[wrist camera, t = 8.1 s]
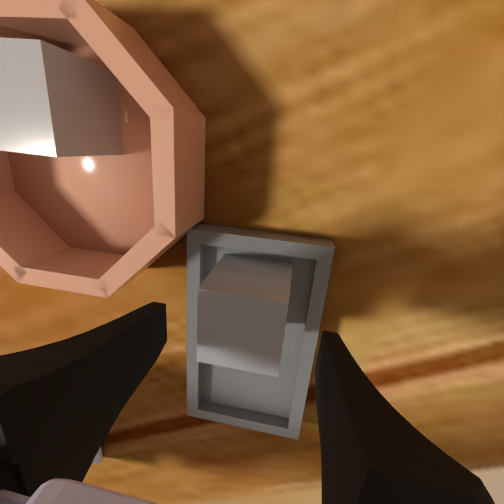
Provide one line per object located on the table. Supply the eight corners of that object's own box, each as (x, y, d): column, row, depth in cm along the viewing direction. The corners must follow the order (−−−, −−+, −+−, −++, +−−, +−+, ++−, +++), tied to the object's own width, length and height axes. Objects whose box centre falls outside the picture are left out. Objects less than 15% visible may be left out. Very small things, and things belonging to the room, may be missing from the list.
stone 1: (122, 154, 16) (56, 156, 12) (57, 147, 16) (-28, 147, 12) (116, 71, 14) (40, 39, 10) (46, 66, 15) (-55, 34, 11)
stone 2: (284, 323, 18) (278, 377, 13) (221, 312, 18) (196, 361, 14) (292, 263, 16) (288, 302, 12) (224, 253, 17) (197, 288, 13)
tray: (298, 421, 21) (298, 439, 20) (193, 399, 22) (186, 415, 21) (332, 239, 16) (335, 247, 15) (195, 222, 17) (186, 228, 16)
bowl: (202, 276, 18) (176, 309, 14) (23, 249, 20) (-41, 272, 16) (207, 30, 14) (171, -15, 10) (-25, 23, 15) (-130, -17, 12)
